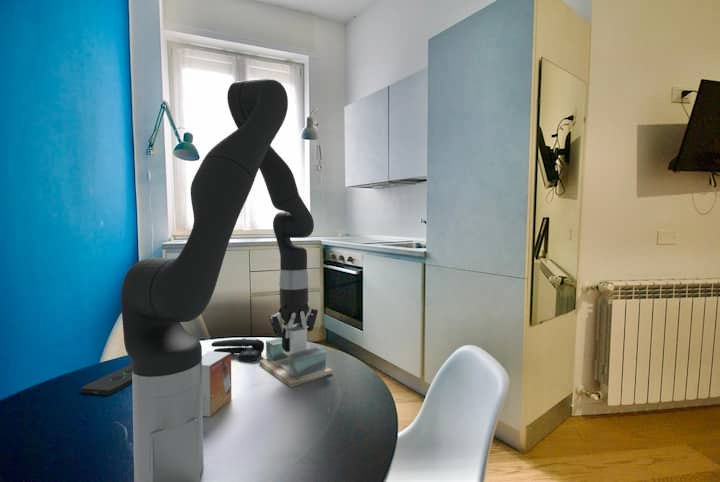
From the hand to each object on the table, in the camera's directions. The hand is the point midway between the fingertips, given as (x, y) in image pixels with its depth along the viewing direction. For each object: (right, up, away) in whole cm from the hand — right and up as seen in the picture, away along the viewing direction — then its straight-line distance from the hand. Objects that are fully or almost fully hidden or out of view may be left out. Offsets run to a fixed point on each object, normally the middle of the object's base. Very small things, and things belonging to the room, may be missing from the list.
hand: (294, 348), depth 93 cm
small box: (-14, -6, -19) cm, 25 cm away
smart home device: (-42, -6, -4) cm, 42 cm away
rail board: (0, -6, 0) cm, 6 cm away
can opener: (-19, -6, +11) cm, 23 cm away
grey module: (0, -1, 0) cm, 1 cm away
